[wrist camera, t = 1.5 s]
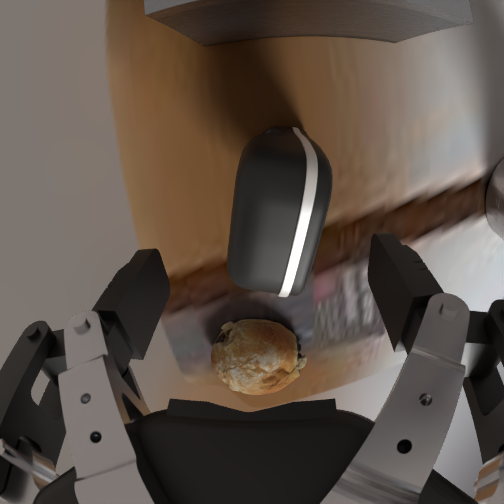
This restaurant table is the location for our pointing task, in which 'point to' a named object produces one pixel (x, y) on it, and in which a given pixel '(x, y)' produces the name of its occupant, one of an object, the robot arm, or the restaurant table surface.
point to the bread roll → (256, 356)
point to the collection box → (307, 18)
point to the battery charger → (278, 211)
